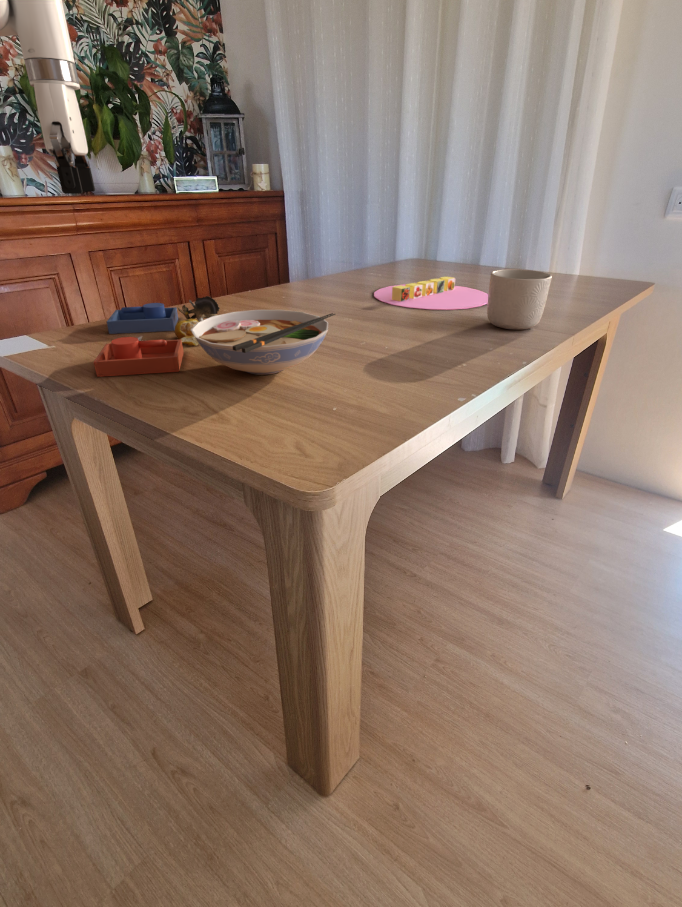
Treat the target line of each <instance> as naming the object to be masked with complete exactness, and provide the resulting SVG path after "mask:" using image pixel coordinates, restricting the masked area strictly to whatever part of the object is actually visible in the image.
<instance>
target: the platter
mask: <svg viewBox="0 0 682 907" xmlns="http://www.w3.org/2000/svg"><path fill="white" fill-rule="evenodd" d="M455 284H456V277H452V276H441V277H438V278H431V279H428V280H421V281H416V282H411V283H403V284H396V285H395V284H394V285H389V286H385V287H381V288H379V289H377V290H376V291H374V292H373V297H374V298H375V299H377V300H378V301H380V302H381V303H385V304H388V305H391V306H397V307H402V308H407V309H417V310H419V309H420V310H428V311H430V310H432V311H434V310H435V311H437V310H438V311H439V310H440V311H441V310H442V311H453V310H465V309H473V308H477V307H482V306H484V305H487V304H488V294H489V293H487V292H485V291H482V290H479V289H475V288H472V287H469V286H468V287H467V286H462V285H455Z"/></svg>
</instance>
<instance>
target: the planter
mask: <svg viewBox="0 0 682 907" xmlns="http://www.w3.org/2000/svg"><path fill="white" fill-rule="evenodd" d="M552 278H553V276H552V274H550V273H548V272H544V271H540V270H533V269H522V268H521V269H519V268H515V269H514V268H507V269H506V268H504V269H496V270H493V271H491V272H490V277H489V285H488V293H487V294H488V303H487V304H486V306H487V307H486V308H487V309H486V314H487V319H488V322H490V323H491V325H493V326H495V327H497V328H501V329H505V330H512V331H513V330H515V331H521V330H522V331H523V330H528V329H533V328H534V327H536V326H537V325H538V324H539V323H540V321H541V319H542V318H543V314H544V311H545V307H546V303H547V299H548V297H549V296H548V295H549V291H550V287H551V282H552Z"/></svg>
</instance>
